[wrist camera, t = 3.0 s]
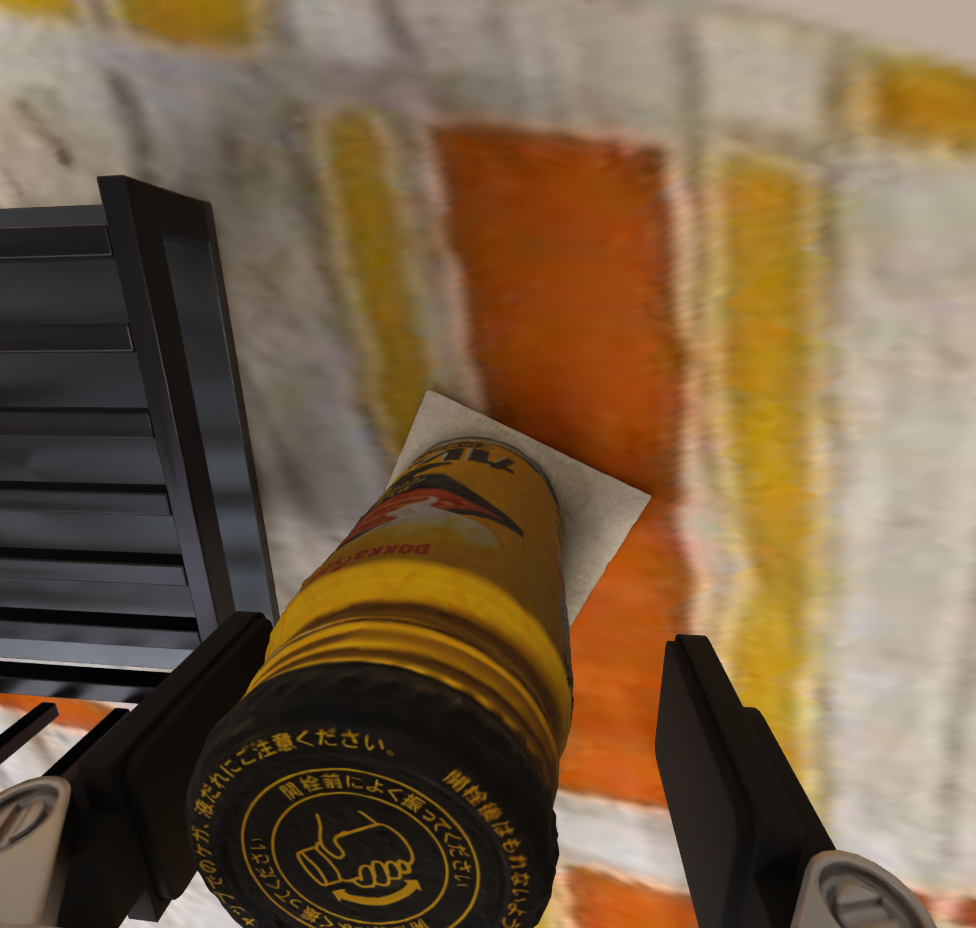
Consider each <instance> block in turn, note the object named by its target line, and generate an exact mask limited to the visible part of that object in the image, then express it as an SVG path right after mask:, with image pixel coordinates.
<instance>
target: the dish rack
mask: <svg viewBox="0 0 976 928" xmlns="http://www.w3.org/2000/svg"><path fill="white" fill-rule="evenodd" d="M97 182H98V186H99V191H100V195H101V200H102V205H79V206H55V207H32V208H8V209H0V657H2V658H17V659H32V660H46V661H61V662H76V663H91V664H105V665H120V666H135V667H149V668H164V669H175V668H176V667H177V666H178V665H179V664H181V663H182V662H183V661H184V660H185V659H186V658H187V657H188V656H189V655H190V654H191V653H192V652H193V651H194V650H195V649H196V648H197V647H198V646H199V645H200V644H201V643H202V642H203V641H204V640H205V639H206V638H207V637H208V636H209V635H210V634H211V633H213V632H214V631H215V630H216V629H217V628H218V627H219V626H220V625H221V624H222V623H223V622H224V621H225V620H226V619H227V618H228V617H229V616H230V615H231V614H232V613H234V612H236V611H249V612H261V613H263V614H264V615H265V617H266V619H269V620H270V621H271V622H272V626H273V629H274V627H275V625H276V624H277V622H278V620H279V614H278V608H277V602H276V596H275V590H274V584H273V578H272V572H271V566H270V560H269V554H268V548H267V542H266V536H265V530H264V524H263V518H262V512H261V506H260V500H259V494H258V488H257V482H256V476H255V470H254V464H253V458H252V452H251V446H250V440H249V434H248V428H247V422H246V416H245V410H244V404H243V398H242V392H241V386H240V380H239V374H238V368H237V362H236V355H235V349H234V343H233V337H232V331H231V325H230V319H229V313H228V307H227V301H226V295H225V289H224V283H223V277H222V271H221V265H220V259H219V253H218V247H217V241H216V235H215V229H214V223H213V217H212V211H211V205H210V203H209V202H206V201H203V200H198V199H195V198H192V197H189V196H186V195H183V194H180V193H177V192H173V191H170V190H167V189H164V188H161V187H158V186H155V185H152V184H150V183H147V182H143V181H140V180H137V179H134V178H131V177H128V176H125V175H112V176H98V177H97ZM169 674H170V673H166V672H151V671H137V670H122V669H108V668H93V667H79V666H64V665H50V664H35V663H21V662H6V661H0V693H6V694H19V695H32V696H45V697H58V698H71V699H84V700H97V701H110V702H123V703H136V704H139V703H140V702H141V701H142V700H143V699H144V698H145V697H146V696H147V695H148V694H150V693H151V692H152V691H153V690H154V689H155V688H156V687H157V686H158V685H159V684H160V683H161V682H162V681H163V680H164V679H165V678H166V677H167V676H168V675H169ZM129 713H130V711H129V709H124V708H115V709H113V710H112V711H111V712H110V713H109V714H108V715H107V716H106V717H105V718H104V719H103V720H101V721H100V722H99V723H98V724H97V725H96V726H95V727H94V728H93V729H92V730H91V731H90V732H89V733H87V734H86V735H85V736H84V737H83V738H82V739H81V740H80V741H79V742H78V743H77V744H76V745H75V746H73V747H72V748H71V749H70V750H69V751H68V752H67V753H66V754H65V755H64V756H63V757H62V758H61V759H59V760H58V761H57V762H56V763H55V764H54V765H53V766H52V767H51V768H50V769H49V770H48V771H47V772H45V773H44V774H43V775H42V776H59V777H62V778H65V779H66V780H67V781H68V782H69V781H70V780H71V779H72V778H73V777H74V776H75V775H76V774H77V773H78V772H79V771H78V768H77V765H76V764H77V763H78V762H79V761H80V760H81V759H82V758H83V757H84V756H85V755H87V754H88V753H89V752H90V751H91V750H92V749H93V748H94V747H95V746H96V745H97V744H98V743H99V742H100V741H101V740H102V739H103V738H104V737H105V736H106V735H107V734H108V733H109V732H110V731H111V730H112V729H113V728H114V727H115V726H116V725H118V724H119V723H120V722H121V721H122V720H123V719H124V718H125V717H126V716H127V715H128V714H129ZM58 716H59V712H58V710H57V707H56V704H55V703H47V702H42V703H40V704H39V705H37V706H36V707H35V708H34V709H32V710H31V711H30V712H29V713H27V714H26V715H25V716H23V717H22V718H21V719H20V720H18V721H17V722H16V723H14V724H13V725H12V726H11V727H9V728H8V729H7V730H5V731H4V732H3V733H2V734H0V764H2V763H3V762H4V761H5V760H6V759H8V758H9V757H10V756H11V755H12V754H13V753H15V752H16V751H17V750H18V749H19V748H21V747H22V746H23V745H24V744H25V743H27V742H28V741H29V740H30V739H31V738H33V737H34V736H35V735H36V734H37V733H39V732H40V731H41V730H42V729H43V728H45V727H46V726H47V725H48V724H49V723H51V722H52V721H53V720H54V719H55V718H57V717H58Z"/></svg>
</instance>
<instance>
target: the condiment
mask: <svg viewBox="0 0 976 928" xmlns="http://www.w3.org/2000/svg"><path fill="white" fill-rule="evenodd" d="M651 497H652V496H650V495H648V494H646V493H644V492H642V491H640V490H638V489H635V488H633V487H631V486H629V485H627V484H625V483H623V482H621V481H619V480H617V479H615V478H613V477H611V476H609V475H606V474H604V473H601V472H599V471H597V470H595V469H594V468H591V467H589V466H587V465H585V464H583V463H581V462H579V461H577V460H575V459H572V458H570V457H568V456H567V455H565V454H563V453H561V452H558V451H556V450H554V449H552V448H550V447H548V446H546V445H544V444H542V443H540V442H538V441H536V440H534V439H532V438H530V437H528V436H526V435H524V434H522V433H520V432H518V431H516V430H514V429H511V428H509V427H507V426H505V425H503V424H501V423H499V422H497V421H495V420H493V419H490V418H488V417H486V416H484V415H482V414H480V413H478V412H476V411H474V410H472V409H469V408H467V407H465V406H463V405H461V404H459V403H457V402H455V401H453V400H451V399H449V398H446V397H444V396H442V395H440V394H438V393H435V392H433V391H430V390H428V389H427V391H426V393H425V396H424V398H423V401H422V403H421V405H420V408H419V410H418V413H417V415H416V417H415V420H414V422H413V425H412V427H411V430H410V432H409V434H408V437H407V440H406V442H405V444H404V447H403V449H402V452H401V454H400V456H399V459H398V461H397V464H396V466H395V468H394V471H393V473H392V476H391V478H390V480H389V483H388V485H387V487H386V490H385V492H384V493H383V495H382V496H380V497H379V499H378V501H377V502H376V503H375V504H374V505H373V506H372V507H371V508H370V509H369V511H368V512H367V513H366V514H365V515H364V516H362V517H361V518H360V520H359V521H358V523H357V524H356V526H355V527H354V529H353V530H352V531H351V532H350V533H349V535H348V536H347V537H346V538H345V539H344V541H343V542H342V543H341V544H340V545H339V546H338V548H337V549H336V550H335V551H334V552H333V553H332V554H331V555H330V556H329V557H328V559H327V560H326V561H325V562H324V563H323V564H322V566H320V567H319V568H318V569H317V570H316V571H315V572H314V573H313V574H312V575H311V576H310V577H308V578H307V579H306V580H305V581H304V582H303V584H302V587H301V589H300V591H299V592H298V594H297V595H296V596H295V598H294V599H293V600H292V601H291V602H290V603H289V604H288V606H287V608H286V610H285V611H284V612H283V614H282V615H281V617H280V619H279V620H278V622H277V624H276V625H275V627H274V629H273V630H272V632H271V633H270V642H269V644H268V647H267V649H266V653H265V662H264V665H263V666H262V667H261V668H260V669H259V670H258V672H257V674H256V675H255V677H254V678H253V680H252V681H251V683H250V685H249V687H248V689H247V691H246V694H245V695H244V696H243V697H242V699H241V700H239V702H238V703H237V704H236V705H235V706H234V707H233V708H232V709H231V710H230V711H229V712H228V713H227V714H226V715H225V716H224V717H223V718H222V719H221V720H220V721H219V722H218V723H217V724H215V726H214V728H213V729H212V731H211V732H210V733H209V735H208V736H207V738H206V742H205V744H204V747H203V749H202V752H201V754H200V756H199V758H198V760H197V762H196V765H195V769H194V773H193V775H192V777H191V780H190V783H189V786H188V789H187V800H186V808H185V810H184V813H183V817H182V821H181V822H182V823H183V824H184V825H185V826H186V827H187V828H188V842H189V845H190V849H191V853H192V856H193V860H194V863H195V865H196V868H197V870H198V872H199V873H200V875H201V876H202V878H203V880H204V882H205V884H206V886H207V888H208V889H209V891H210V892H211V893H213V894H214V895H215V896H216V897H217V898H218V899H219V901H220V902H221V904H222V906H223V907H224V908H225V909H226V910H227V912H228V913H229V914H230V916H231V917H232V918H233V919H234V920H235V921H236V922H237V923H238V924H239V925H241V926H242V927H243V928H534V927H535V926H536V925H537V924H538V923H539V921H540V919H541V917H542V915H543V913H544V911H545V909H546V907H547V905H548V902H549V900H550V898H551V894H552V884H553V880H554V877H555V874H556V865H557V861H558V857H559V848H558V842H557V838H558V832H557V828H556V814H555V812H554V810H553V806H554V801H555V797H556V793H557V789H558V782H559V760H560V758H561V756H562V754H563V752H564V749H565V746H566V742H567V738H568V734H569V731H570V727H571V720H572V710H573V701H574V698H573V692H572V691H573V673H572V665H571V648H570V636H569V628H570V626H571V625H572V623H573V621H574V620H575V618H576V616H577V615H578V613H579V612H580V610H581V608H582V607H583V605H584V603H585V602H586V600H587V598H588V596H589V595H590V593H591V591H592V590H593V588H594V587H595V585H596V584H597V582H598V580H599V579H600V577H601V576H602V574H603V572H604V571H605V569H606V565H607V564H608V563H609V562H610V561H611V559H612V558H613V556H614V555H615V554H616V552H617V550H618V549H619V547H620V546H621V544H622V543H623V541H624V539H625V538H626V536H627V534H628V532H629V531H630V529H631V527H632V526H633V524H634V523H635V522H636V521H637V519H638V518H639V516H640V514H641V513H642V511H643V510H644V508H645V506H646V505H647V503H648V502H649V500H650V498H651Z"/></svg>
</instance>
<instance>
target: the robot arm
mask: <svg viewBox="0 0 976 928" xmlns="http://www.w3.org/2000/svg"><path fill="white" fill-rule="evenodd" d="M272 630H273V626H272V622H271V621H270V620H269V619H266V617H265V615H264V614H263V613H261V612H249V611H236V612H234V613H232V614H231V615H230V616H229V617H228V618H227V619H226V620H225V621H224V622H223V623H222V624H221V625H220V626H219V627H218V628H217V629H216V630H215V631H214V632H213V633H211V634H210V635H209V636H208V637H207V638H206V639H205V640H204V641H203V642H202V643H201V644H200V645H199V646H198V647H197V648H196V649H195V650H194V651H193V652H192V653H191V654H190V655H189V656H188V657H187V658H186V659H185V660H184V661H183V662H182V663H181V664H179V665H178V666H177V667H176V668H175V669H174V670H173V671H172V672H171V673H170V674H169V675H168V676H167V677H166V678H165V679H164V680H163V681H162V682H161V683H160V684H159V685H158V686H157V687H156V688H155V689H154V690H153V691H152V692H151V693H150V694H148V695H147V696H146V697H145V698H144V699H143V700H142V701H141V702H140V703H139V704H138V705H137V706H136V707H135V708H134V709H133V710H132V711H131V712H130V713H129V714H128V715H127V716H126V717H125V718H124V719H123V720H122V721H121V722H120V723H119V724H118V725H116V726H115V727H114V728H113V729H112V730H111V731H110V732H109V733H108V734H107V735H106V736H105V737H104V738H103V739H102V740H101V741H100V742H99V743H98V744H97V745H96V746H95V747H94V748H93V749H92V750H91V751H90V752H89V753H88V754H87V755H85V756H84V757H83V758H82V759H81V760H80V761H79V762H78V763H77V764H76V765H77V768H78V771H79V772H78V773H77V774H76V775H75V776H74V777H73V778H72V779H71V780H70V781H69V782H68V781H67V780H66V779H65V778H62V777H59V776H41V777H38V778H34V779H30V780H26V781H24V782H22V783H19V784H17V785H15V786H12V787H10V788H8V789H6V790H4V791H3V792H1V793H0V928H119V926H120V925H121V924H122V922H123V921H124V919H125V918H126V916H127V915H128V917H129V919H136V920H144V921H152V922H158V921H159V919H160V918H161V916H162V915H163V913H164V911H165V910H166V908H167V907H168V905H169V904H170V902H171V900H175V899H177V898H179V897H180V896H181V895H182V894H183V892H184V891H185V889H186V888H187V886H188V885H189V883H190V881H191V880H192V878H193V877H194V875H195V873H196V872H197V868H196V865H195V863H194V860H193V856H192V853H191V849H190V845H189V842H188V828H187V827H186V826H185V825H184V824H183V823H182V822H181V821H182V817H183V813H184V810H185V808H186V800H187V789H188V786H189V783H190V780H191V777H192V775H193V773H194V769H195V765H196V762H197V760H198V758H199V756H200V754H201V752H202V749H203V747H204V744H205V742H206V738H207V736H208V735H209V733H210V732H211V731H212V729H213V728H214V726H215V724H217V723H218V722H219V721H220V720H221V719H222V718H223V717H224V716H225V715H226V714H227V713H228V712H229V711H230V710H231V709H232V708H233V707H234V706H235V705H236V704H237V703H238V702H239V700H241V699H242V697H243V696H244V695H245V694H246V691H247V689H248V687H249V685H250V683H251V681H252V680H253V678H254V677H255V675H256V674H257V672H258V670H259V669H260V668H261V667H262V666H263V665H264V662H265V653H266V649H267V647H268V644H269V642H270V633H271V632H272ZM655 754H656V760H657V765H658V769H659V772H660V776H661V780H662V784H663V788H664V792H665V796H666V800H667V804H668V808H669V812H670V816H671V820H672V824H673V827H674V831H675V835H676V839H677V843H678V847H679V851H680V855H681V859H682V863H683V867H684V871H685V875H686V878H687V882H688V886H689V890H690V894H691V898H692V902H693V906H694V910H695V914H696V918H697V922H698V926H699V928H937V927H936V925H935V923H934V921H933V919H932V917H931V915H930V913H929V912H928V911H927V910H926V908H925V907H924V906H923V904H922V903H921V902H920V901H919V899H918V898H917V897H916V895H915V894H914V893H913V892H912V891H911V890H910V889H908V888H907V887H906V886H905V885H904V884H903V883H902V882H901V881H900V880H899V879H898V878H897V877H895V876H894V875H892V874H891V873H890V872H888V871H887V870H885V869H884V868H882V867H881V866H879V865H878V864H876V863H874V862H872V861H870V860H868V859H866V858H864V857H861V856H859V855H857V854H854V853H849V852H845V851H841V850H836V848H835V846H834V845H833V843H832V841H831V839H830V837H829V836H828V834H827V832H826V830H825V828H824V826H823V825H822V823H821V821H820V819H819V817H818V815H817V814H816V812H815V810H814V808H813V806H812V804H811V803H810V801H809V799H808V797H807V795H806V793H805V792H804V790H803V788H802V786H801V784H800V783H799V781H798V779H797V777H796V775H795V773H794V772H793V770H792V768H791V766H790V764H789V762H788V761H787V759H786V757H785V755H784V753H783V751H782V750H781V748H780V746H779V744H778V742H777V741H776V739H775V737H774V735H773V733H772V731H771V730H770V728H769V726H768V724H767V722H766V720H765V719H764V717H763V716H762V714H761V713H760V711H759V710H757V709H756V708H753V707H743V706H742V704H741V702H740V700H739V698H738V696H737V694H736V692H735V690H734V688H733V686H732V684H731V682H730V680H729V678H728V676H727V674H726V672H725V670H724V668H723V666H722V664H721V662H720V661H719V659H718V657H717V655H716V653H715V651H714V649H713V647H712V645H711V643H710V641H709V639H708V638H707V637H706V636H702V635H683V634H678V635H676V638H675V641H667V643H666V647H665V656H664V665H663V674H662V683H661V692H660V702H659V711H658V720H657V729H656V738H655Z"/></svg>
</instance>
